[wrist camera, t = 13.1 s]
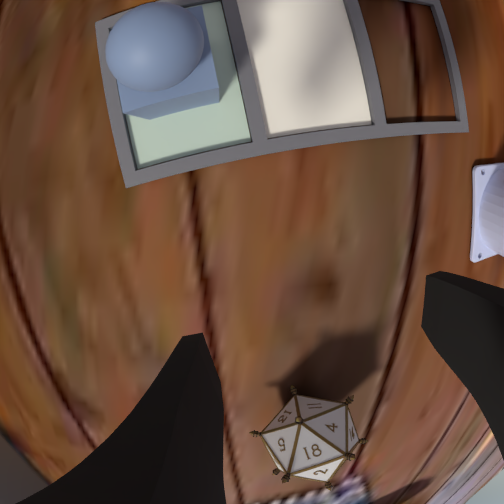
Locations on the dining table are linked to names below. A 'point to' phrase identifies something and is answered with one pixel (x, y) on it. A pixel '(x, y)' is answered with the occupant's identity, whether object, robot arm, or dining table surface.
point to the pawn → (162, 60)
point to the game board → (271, 87)
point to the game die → (311, 438)
